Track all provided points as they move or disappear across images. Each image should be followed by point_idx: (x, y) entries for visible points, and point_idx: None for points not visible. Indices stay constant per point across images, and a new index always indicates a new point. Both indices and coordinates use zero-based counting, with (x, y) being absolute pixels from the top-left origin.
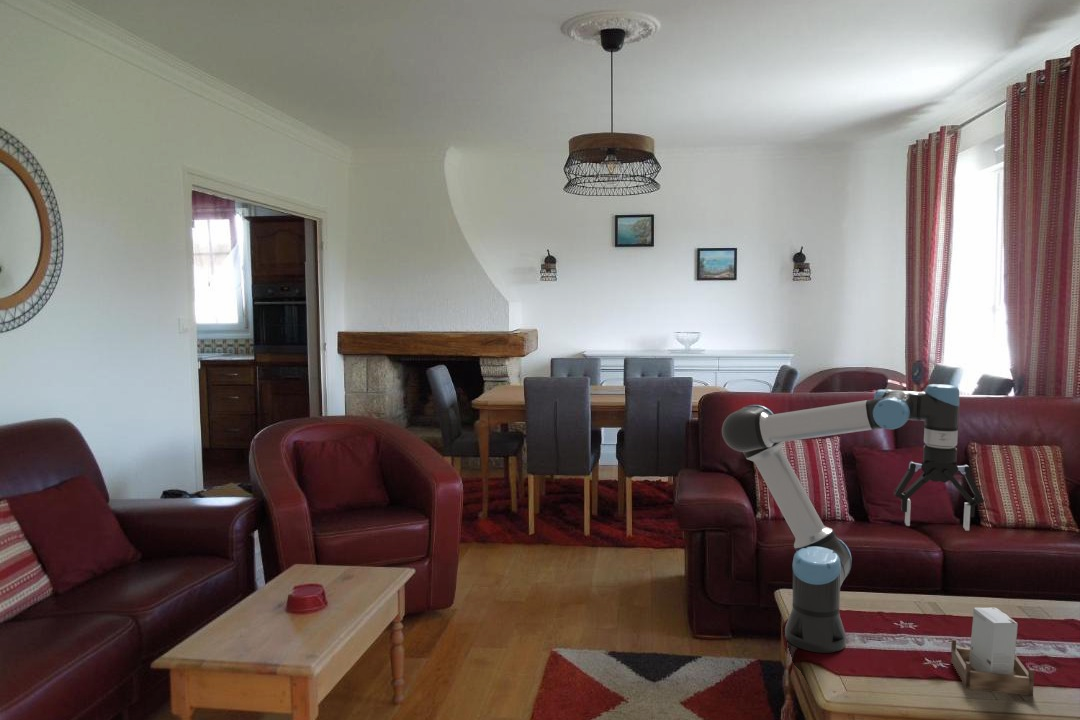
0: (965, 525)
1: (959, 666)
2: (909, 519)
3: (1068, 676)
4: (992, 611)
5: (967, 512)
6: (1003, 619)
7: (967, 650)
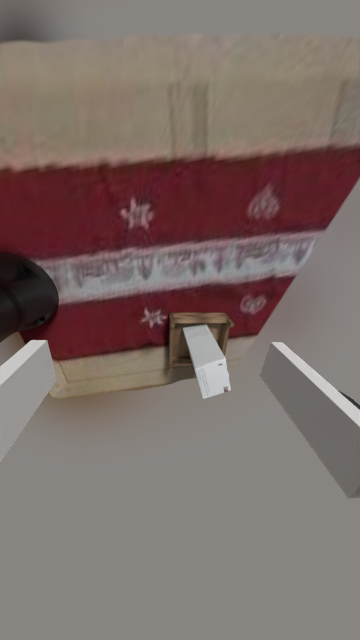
0: (271, 380)
1: (169, 344)
2: (38, 403)
3: (267, 316)
4: (214, 373)
5: (314, 447)
6: (218, 388)
7: (185, 322)
